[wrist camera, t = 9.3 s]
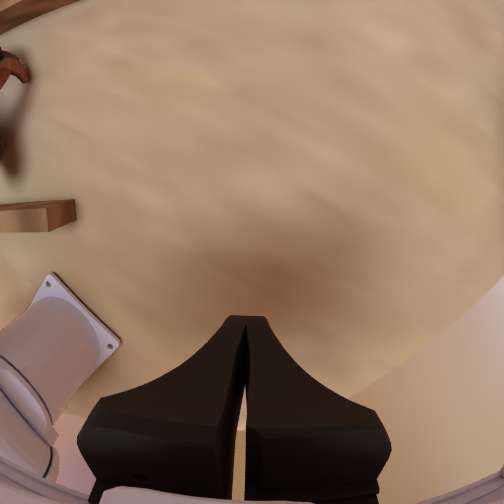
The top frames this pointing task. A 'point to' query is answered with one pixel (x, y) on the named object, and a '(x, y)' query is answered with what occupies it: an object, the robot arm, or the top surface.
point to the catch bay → (44, 212)
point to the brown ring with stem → (6, 64)
